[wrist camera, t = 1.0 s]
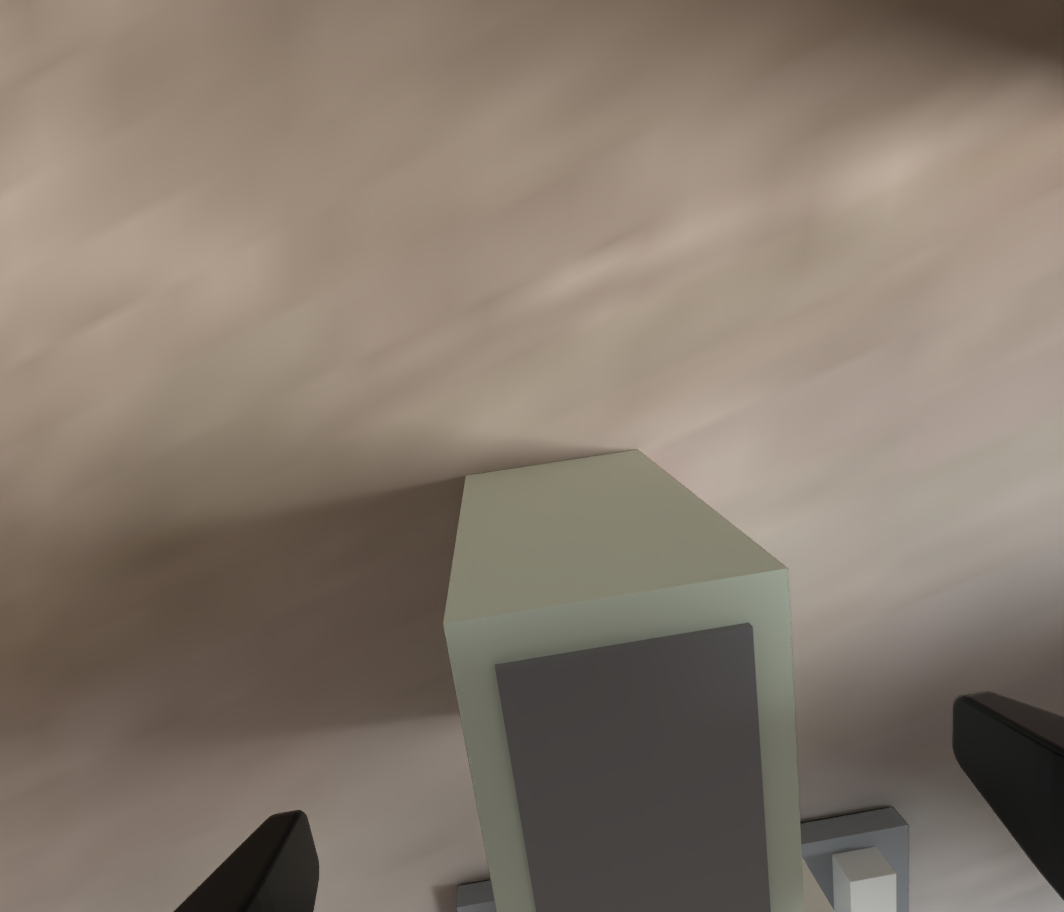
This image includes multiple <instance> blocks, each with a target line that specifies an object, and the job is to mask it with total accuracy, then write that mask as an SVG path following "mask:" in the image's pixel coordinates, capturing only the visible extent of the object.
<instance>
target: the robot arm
mask: <svg viewBox="0 0 1064 912" xmlns="http://www.w3.org/2000/svg"><path fill="white" fill-rule="evenodd" d="M952 746H953V751H954V755H955V757H956V759H957V761H958V763H959V765H960V766H961V768H962V769H963V771H964V772H965V773H966V775H967V776H968V777H969V779H970V780H971V781H972V783H973V784H974V785H975V787H976V788H977V789H978V791H979V792H980V793H981V795H982V796H983V797H984V799H985V800H986V801H987V803H988V804H989V805H990V807H991V808H992V809H993V811H994V812H995V813H996V815H997V816H998V817H999V819H1000V820H1001V821H1002V823H1003V824H1004V825H1005V827H1006V828H1007V829H1008V831H1009V832H1010V833H1011V835H1012V836H1013V837H1014V839H1015V840H1016V841H1017V843H1018V844H1019V845H1020V847H1021V848H1022V849H1023V851H1024V852H1025V853H1026V855H1027V856H1028V857H1029V859H1030V860H1031V861H1032V862H1033V864H1034V865H1035V866H1036V867H1037V869H1038V870H1039V871H1040V873H1041V874H1042V875H1043V876H1044V878H1045V879H1046V880H1047V881H1048V882H1049V884H1050V885H1051V886H1052V887H1053V888H1054V890H1055V891H1056V892H1057V893H1058V894H1059V895H1060V897H1061V898H1062V899H1063V900H1064V717H1063V716H1060V715H1057V714H1054V713H1051V712H1048V711H1045V710H1042V709H1039V708H1036V707H1033V706H1031V705H1028V704H1025V703H1022V702H1019V701H1016V700H1013V699H1010V698H1007V697H1004V696H1001V695H998V694H996V693H993V692H989V691H979V692H974V693H968V694H962V695H959V696H958V697H956V698H955V700H954V702H953V729H952ZM318 881H319V860H318V856H317V852H316V848H315V844H314V841H313V837H312V833H311V829H310V825H309V822H308V818H307V816H306V814H305V813H304V812H303V811H301V810H295V811H289V812H283V813H277V814H274V815H272V816H270V817H269V818H268V819H266V820H265V821H264V822H263V823H262V824H261V825H260V826H259V827H258V828H257V829H256V830H255V831H254V832H253V833H252V834H251V835H250V836H249V837H248V838H247V839H246V840H245V841H244V842H243V843H242V844H241V845H240V846H239V847H238V848H237V849H236V850H235V851H234V852H233V853H232V854H231V855H230V856H229V857H228V858H227V859H226V860H225V861H224V862H223V863H222V864H221V865H220V866H219V867H218V868H217V869H216V870H215V871H214V872H213V873H212V874H211V875H210V876H209V877H208V878H207V879H206V880H205V881H204V882H203V883H202V884H201V885H200V886H199V887H198V888H197V889H196V890H195V891H194V892H193V893H192V894H191V895H190V896H189V897H188V898H187V899H186V900H185V901H184V902H183V903H182V904H181V905H180V906H179V907H178V908H177V909H176V910H175V911H174V912H313V911H314V905H315V899H316V893H317V887H318Z"/></svg>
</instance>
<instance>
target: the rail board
mask: <svg viewBox="0 0 1064 912" xmlns="http://www.w3.org/2000/svg"><path fill="white" fill-rule="evenodd" d="M800 827H801V848H802V869H803V890H804V911H805V912H909V825H908V824H907V822H906V821H905V820H904V819H903V818H902V817H901V815H900V814H899V813H898V812H897V811H896V809H895V808H894V807H890V808H885V809H879V810H874V811H868V812H863V813H857V814H852V815H846V816H841V817H835V818H830V819H824V820H819V821H813V822H808V823H802V824H800ZM457 912H497V910H496V905H495V899H494V894H493V889H492V883H491V880H489V881H483V882H478V883H472V884H467V885H461V886H458V890H457Z"/></svg>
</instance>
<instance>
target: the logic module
mask: <svg viewBox="0 0 1064 912" xmlns="http://www.w3.org/2000/svg"><path fill="white" fill-rule="evenodd" d="M443 627H444V632H445V638H446V643H447V648H448V654H449V659H450V664H451V670H452V675H453V680H454V686H455V691H456V696H457V702H458V707H459V712H460V718H461V723H462V728H463V734H464V739H465V744H466V750H467V755H468V761H469V766H470V771H471V777H472V782H473V787H474V793H475V798H476V803H477V809H478V814H479V819H480V825H481V830H482V835H483V841H484V846H485V851H486V857H487V862H488V867H489V873H490V878H491V883H492V889H493V894H494V899H495V905H496V910H497V912H805V911H804V890H803V869H802V848H801V827H800V806H799V785H798V764H797V743H796V722H795V701H794V680H793V659H792V638H791V617H790V596H789V575H788V568H787V567H786V566H785V565H784V564H782V563H781V562H780V561H778V560H777V559H776V558H775V557H773V556H772V555H771V554H770V553H768V552H767V551H766V550H765V549H763V548H762V547H761V546H759V545H758V544H757V543H756V542H754V541H753V540H752V539H751V538H749V537H748V536H747V535H746V534H744V533H743V532H742V531H741V530H739V529H738V528H737V527H735V526H734V525H733V524H732V523H730V522H729V521H728V520H727V519H725V518H724V517H723V516H722V515H720V514H719V513H718V512H717V511H715V510H714V509H713V508H711V507H710V506H709V505H708V504H706V503H705V502H704V501H703V500H701V499H700V498H699V497H698V496H696V495H695V494H694V493H692V492H691V491H690V490H689V489H687V488H686V487H685V486H684V485H682V484H681V483H680V482H679V481H677V480H676V479H675V478H674V477H672V476H671V475H670V474H668V473H667V472H666V471H665V470H663V469H662V468H661V467H660V466H658V465H657V464H656V463H655V462H653V461H652V460H651V459H650V458H648V457H647V456H646V455H644V454H643V453H642V452H641V451H639V450H632V451H625V452H619V453H612V454H605V455H599V456H592V457H586V458H579V459H573V460H566V461H559V462H553V463H546V464H540V465H533V466H527V467H520V468H513V469H507V470H500V471H494V472H487V473H481V474H474V475H467V476H466V477H465V484H464V490H463V497H462V503H461V510H460V516H459V523H458V529H457V536H456V543H455V549H454V556H453V562H452V569H451V575H450V582H449V588H448V595H447V601H446V608H445V614H444V621H443Z"/></svg>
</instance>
